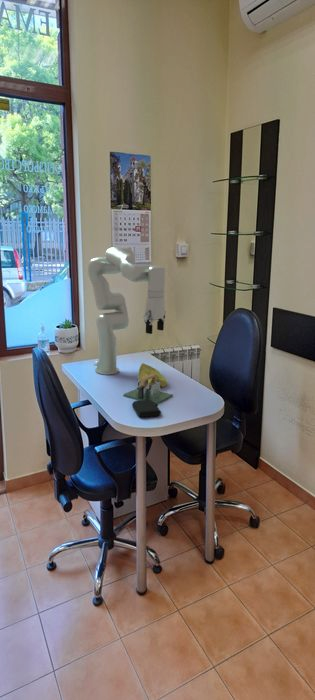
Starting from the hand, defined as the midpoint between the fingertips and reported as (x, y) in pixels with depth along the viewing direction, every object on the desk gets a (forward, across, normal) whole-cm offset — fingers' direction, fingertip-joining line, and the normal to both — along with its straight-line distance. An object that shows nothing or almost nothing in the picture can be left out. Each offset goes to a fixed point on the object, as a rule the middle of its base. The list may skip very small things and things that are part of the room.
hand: (154, 331), depth 205 cm
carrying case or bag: (+29, +23, +12) cm, 39 cm away
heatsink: (+29, +8, +2) cm, 30 cm away
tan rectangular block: (+23, +7, +2) cm, 25 cm away
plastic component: (+29, -11, -7) cm, 32 cm away
